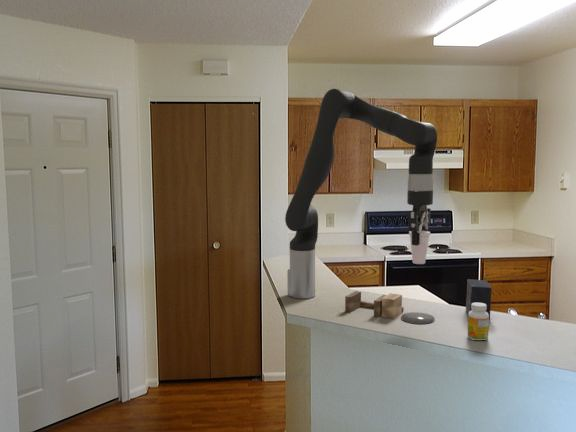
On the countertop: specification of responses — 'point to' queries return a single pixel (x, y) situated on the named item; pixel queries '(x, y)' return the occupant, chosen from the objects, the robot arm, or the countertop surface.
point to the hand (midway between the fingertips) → (419, 243)
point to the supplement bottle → (478, 322)
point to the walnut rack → (376, 304)
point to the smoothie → (420, 247)
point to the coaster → (417, 318)
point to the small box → (478, 294)
